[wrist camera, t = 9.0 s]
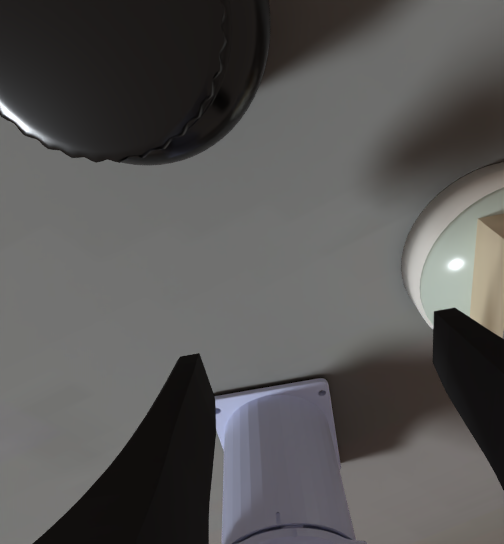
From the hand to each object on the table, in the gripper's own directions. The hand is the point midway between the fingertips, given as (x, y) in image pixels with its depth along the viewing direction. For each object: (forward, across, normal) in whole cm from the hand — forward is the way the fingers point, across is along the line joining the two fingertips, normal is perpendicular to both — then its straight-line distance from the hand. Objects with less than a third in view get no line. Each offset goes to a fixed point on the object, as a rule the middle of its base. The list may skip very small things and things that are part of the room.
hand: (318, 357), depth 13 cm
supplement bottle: (+11, +3, -10) cm, 15 cm away
